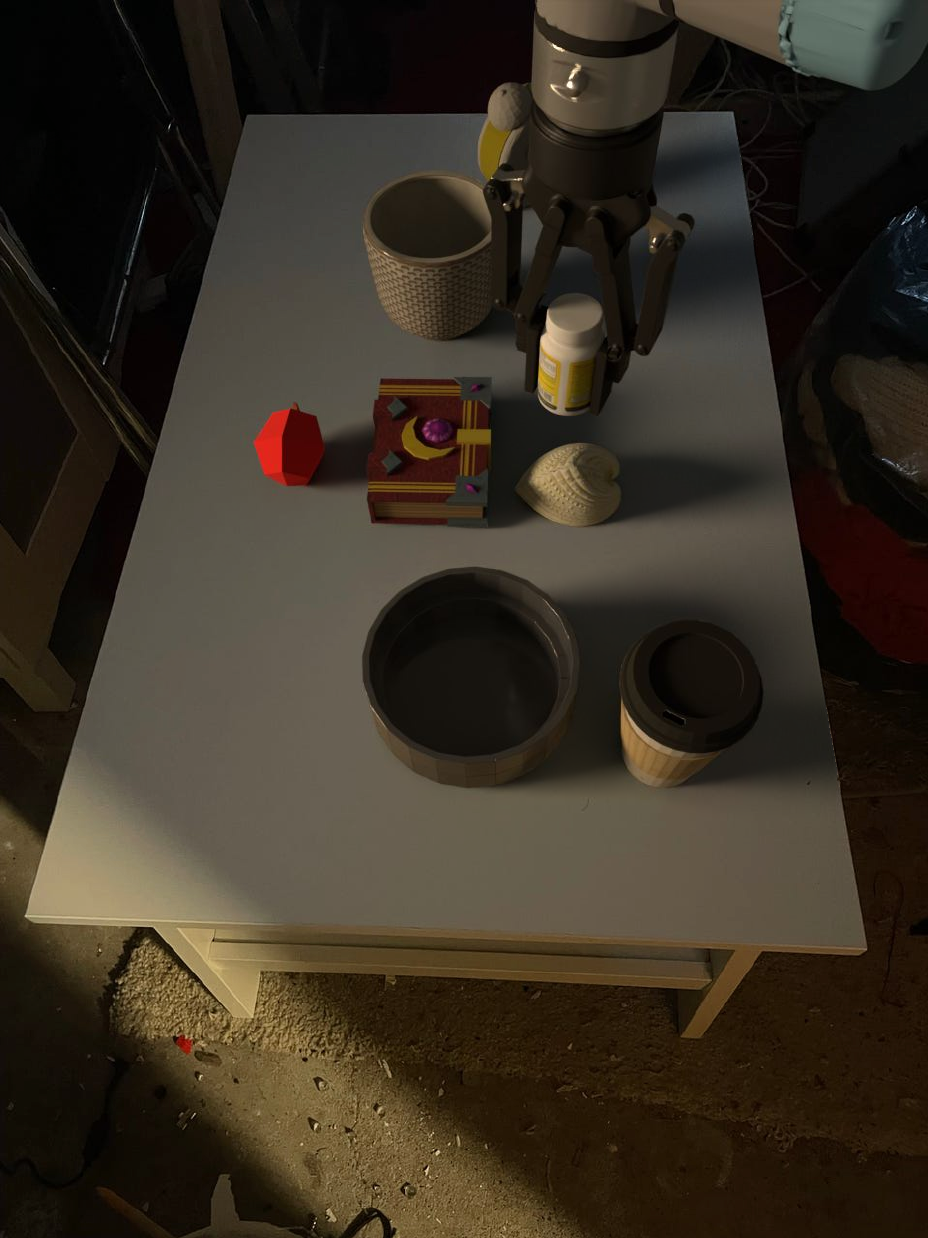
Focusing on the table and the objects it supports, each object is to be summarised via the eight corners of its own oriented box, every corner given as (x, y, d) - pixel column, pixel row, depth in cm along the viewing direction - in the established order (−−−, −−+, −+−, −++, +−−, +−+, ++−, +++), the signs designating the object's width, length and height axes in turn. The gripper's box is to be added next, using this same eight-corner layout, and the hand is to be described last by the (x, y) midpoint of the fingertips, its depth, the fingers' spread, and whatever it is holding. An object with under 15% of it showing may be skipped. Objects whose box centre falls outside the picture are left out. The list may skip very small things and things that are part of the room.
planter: (525, 297, 99) (529, 192, 87) (466, 382, 93) (463, 281, 82) (415, 259, 102) (406, 154, 91) (353, 339, 96) (334, 237, 85)
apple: (304, 475, 81) (316, 391, 82) (238, 474, 83) (250, 392, 84) (335, 497, 88) (346, 419, 88) (274, 494, 89) (284, 418, 90)
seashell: (637, 520, 81) (567, 510, 77) (580, 536, 89) (513, 527, 85) (636, 434, 82) (566, 419, 78) (579, 457, 89) (513, 444, 85)
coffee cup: (738, 730, 74) (792, 650, 61) (690, 832, 70) (736, 770, 57) (631, 677, 76) (659, 588, 63) (578, 772, 73) (597, 699, 59)
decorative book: (369, 527, 85) (362, 496, 80) (383, 398, 92) (377, 363, 88) (488, 530, 84) (488, 498, 80) (493, 399, 92) (493, 364, 87)
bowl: (602, 647, 78) (611, 611, 72) (524, 824, 71) (527, 800, 65) (426, 578, 82) (421, 539, 76) (335, 739, 74) (322, 709, 69)
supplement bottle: (604, 380, 71) (617, 296, 64) (589, 423, 69) (600, 342, 62) (546, 367, 72) (552, 282, 65) (529, 409, 70) (533, 327, 62)
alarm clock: (554, 173, 109) (562, 44, 96) (588, 202, 106) (602, 74, 93) (475, 210, 106) (473, 83, 93) (509, 241, 103) (511, 115, 90)
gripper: (425, 98, 50) (445, 389, 71) (730, 180, 46) (658, 463, 67) (483, 29, 53) (486, 326, 74) (773, 100, 49) (691, 394, 70)
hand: (567, 391), depth 70 cm, fingers closed on supplement bottle, 5 cm apart
